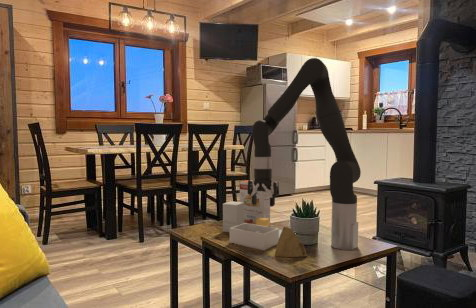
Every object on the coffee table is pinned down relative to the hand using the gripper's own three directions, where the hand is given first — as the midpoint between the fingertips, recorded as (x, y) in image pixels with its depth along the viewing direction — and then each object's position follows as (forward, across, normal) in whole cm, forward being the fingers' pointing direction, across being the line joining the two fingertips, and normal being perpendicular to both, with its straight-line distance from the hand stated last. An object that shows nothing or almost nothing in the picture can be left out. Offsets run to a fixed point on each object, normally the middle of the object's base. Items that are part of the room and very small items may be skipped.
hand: (263, 205), depth 160 cm
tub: (+13, -3, +13) cm, 18 cm away
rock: (+14, -22, +18) cm, 32 cm away
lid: (+13, -4, 0) cm, 14 cm away
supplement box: (+13, +15, +1) cm, 19 cm away
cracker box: (+13, +12, -12) cm, 22 cm away
